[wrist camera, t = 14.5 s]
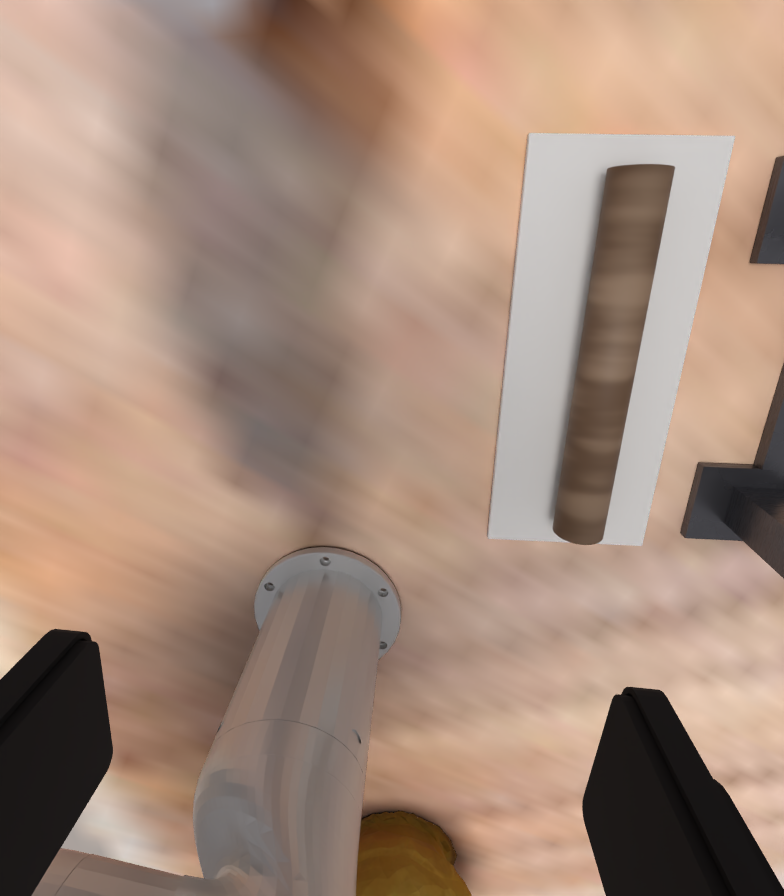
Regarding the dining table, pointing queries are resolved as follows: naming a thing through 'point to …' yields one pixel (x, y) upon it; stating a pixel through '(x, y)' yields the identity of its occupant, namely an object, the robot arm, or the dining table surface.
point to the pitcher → (405, 858)
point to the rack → (780, 451)
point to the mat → (562, 317)
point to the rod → (610, 344)
